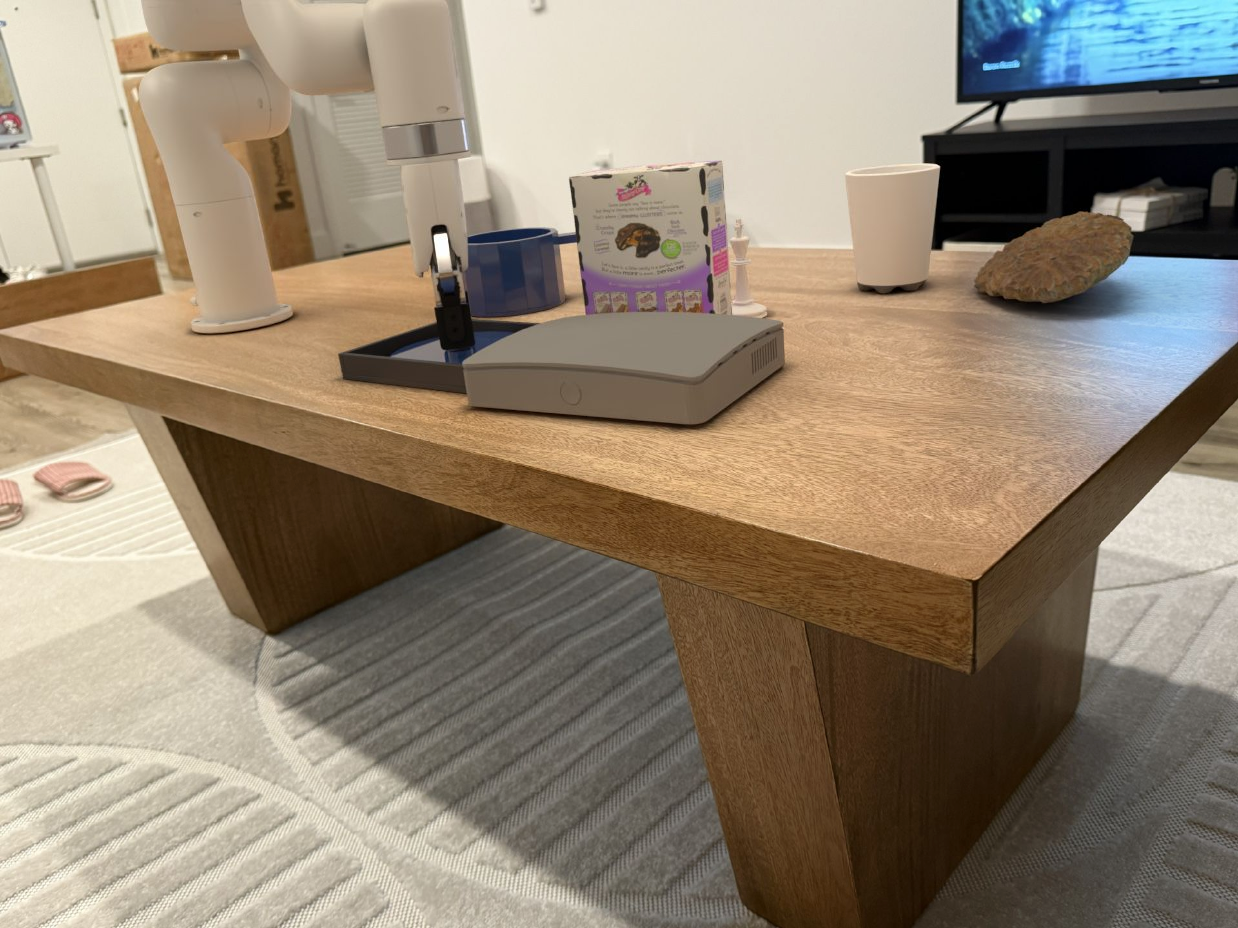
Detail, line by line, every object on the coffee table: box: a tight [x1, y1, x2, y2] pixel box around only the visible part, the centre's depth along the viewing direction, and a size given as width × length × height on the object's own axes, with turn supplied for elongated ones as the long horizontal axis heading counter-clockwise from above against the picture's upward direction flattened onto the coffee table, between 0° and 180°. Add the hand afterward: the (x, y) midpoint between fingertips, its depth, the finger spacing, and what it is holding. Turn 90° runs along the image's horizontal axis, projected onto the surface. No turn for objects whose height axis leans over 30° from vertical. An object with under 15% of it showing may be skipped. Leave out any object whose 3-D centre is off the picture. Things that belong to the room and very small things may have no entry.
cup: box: [844, 163, 941, 294], centre depth 108 cm, size 10×10×13 cm
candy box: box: [568, 160, 732, 315], centre depth 95 cm, size 14×6×16 cm, turn 65°
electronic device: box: [462, 312, 786, 425], centre depth 82 cm, size 19×22×5 cm
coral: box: [973, 211, 1134, 304], centre depth 97 cm, size 19×9×15 cm
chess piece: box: [729, 218, 768, 318], centre depth 102 cm, size 5×5×10 cm
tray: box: [337, 318, 542, 394], centre depth 95 cm, size 17×15×2 cm
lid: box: [390, 295, 514, 364], centre depth 95 cm, size 14×14×6 cm
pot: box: [461, 226, 577, 318], centre depth 120 cm, size 13×18×8 cm
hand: (457, 338), depth 95 cm, fingers open, 5 cm apart
